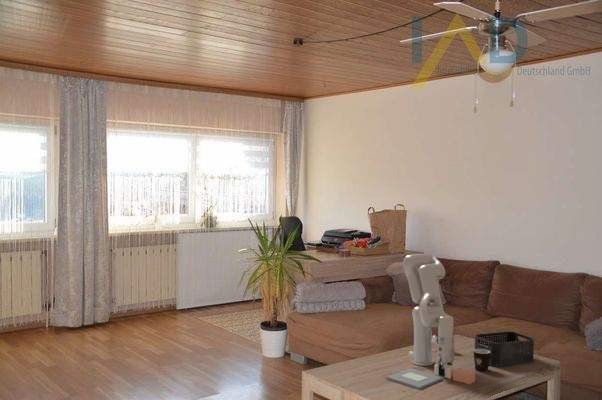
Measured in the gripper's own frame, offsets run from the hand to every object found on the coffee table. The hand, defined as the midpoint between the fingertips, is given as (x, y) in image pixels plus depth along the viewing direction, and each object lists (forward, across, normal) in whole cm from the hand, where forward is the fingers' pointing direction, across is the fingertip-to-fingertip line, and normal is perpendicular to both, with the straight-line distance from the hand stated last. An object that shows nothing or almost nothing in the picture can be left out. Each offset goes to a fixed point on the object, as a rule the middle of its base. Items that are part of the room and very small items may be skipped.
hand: (445, 373), depth 297 cm
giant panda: (+1, +35, +24) cm, 43 cm away
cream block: (+1, 0, 0) cm, 1 cm away
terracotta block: (+1, 0, -11) cm, 11 cm away
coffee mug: (+1, +21, -10) cm, 23 cm away
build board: (+1, -17, +7) cm, 18 cm away
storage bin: (+1, +47, -8) cm, 47 cm away
